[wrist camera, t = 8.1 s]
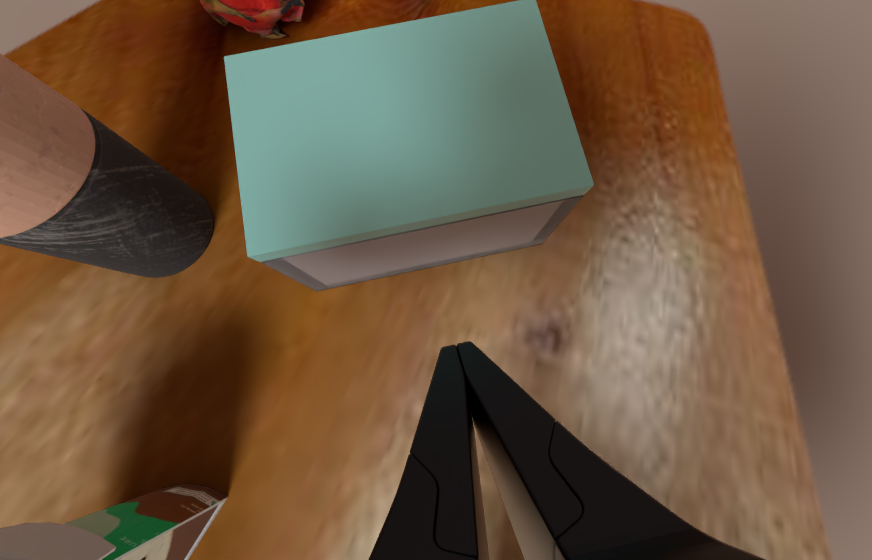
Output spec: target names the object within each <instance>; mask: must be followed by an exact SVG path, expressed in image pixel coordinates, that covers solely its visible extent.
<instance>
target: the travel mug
mask: <svg viewBox="0 0 872 560" xmlns="http://www.w3.org/2000/svg"><path fill="white" fill-rule="evenodd" d="M212 232H213V216H212V212H211V209H210V207H209V205H208V204H207V202H206V201H205V200H204V198H203V197H202V196H201V195H199V194H198V193H197V192H196V191H195V190H193V189H192V188H191V187H189V186H188V185H187V184H185V183H184V182H182V181H181V180H180V179H178V178H177V177H176V176H174V175H173V174H171V173H170V172H169V171H167V170H166V169H164V168H163V167H162V166H160V165H159V164H158V163H156V162H155V161H153V160H152V159H151V158H149V157H148V156H146V155H145V154H144V153H142V152H141V151H140V150H138V149H137V148H135V147H134V146H133V145H131V144H130V143H128V142H127V141H126V140H124V139H123V138H121V137H120V136H119V135H117V134H116V133H115V132H113V131H112V130H110V129H109V128H108V127H106V126H105V125H103V124H102V123H101V122H99V121H98V120H97V119H95V118H94V117H92V116H91V115H90V114H88V113H87V112H85V111H84V110H83V109H81V108H79V107H78V106H77V105H75V104H74V103H73V102H71V101H70V100H68V99H67V98H65V97H64V96H62V95H61V94H59V93H58V92H56V91H55V90H53V89H52V88H50V87H49V86H47V85H46V84H45V83H43V82H42V81H40V80H39V79H37V78H36V77H34V76H33V75H31V74H30V73H28V72H27V71H25V70H24V69H22V68H21V67H19V66H18V65H16V64H15V63H13V62H12V61H10V60H9V59H7V58H6V57H5V56H3V55H2V54H0V244H3V245H7V246H12V247H16V248H20V249H25V250H29V251H33V252H38V253H42V254H46V255H51V256H55V257H59V258H64V259H68V260H72V261H77V262H81V263H85V264H90V265H94V266H98V267H103V268H107V269H111V270H116V271H120V272H125V273H129V274H134V275H139V276H145V277H166V276H170V275H173V274H176V273H178V272H180V271H182V270H184V269H186V268H187V267H189V266H190V265H192V264H193V263H194V262H195V261H196V260H197V259H198V258H199V257H200V256H201V255H202V253H203V252H204V251H205V249H206V248H207V246H208V244H209V242H210V239H211V236H212Z"/></svg>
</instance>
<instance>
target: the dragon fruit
mask: <svg viewBox="0 0 872 560" xmlns="http://www.w3.org/2000/svg"><path fill="white" fill-rule="evenodd" d="M199 1H200V3H201V5H202V6H203V8H204V9H205V10H206V11H207V13H208V14H210V15H211V16H212V17H213V18H214V19H215V20H216V21H217V22H218V23H220V24H222V25H223V26H227V25H228V23H229V22H231V23H233V24H236V25H239V26H242V27H244V28H245V29H246V30H247V31H249V32H251V33H255V34H259V35H260V37H261V38H271V39H278V38H283V37H287V35H284V34H283V33H281V32H280V31H279V28H278V26H277V23H276V22H277V21H278V20H282V21H285V22H289V21H295V22H301V18H302V14H303V9H304V5H305V3H304V1H303V0H199Z"/></svg>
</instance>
